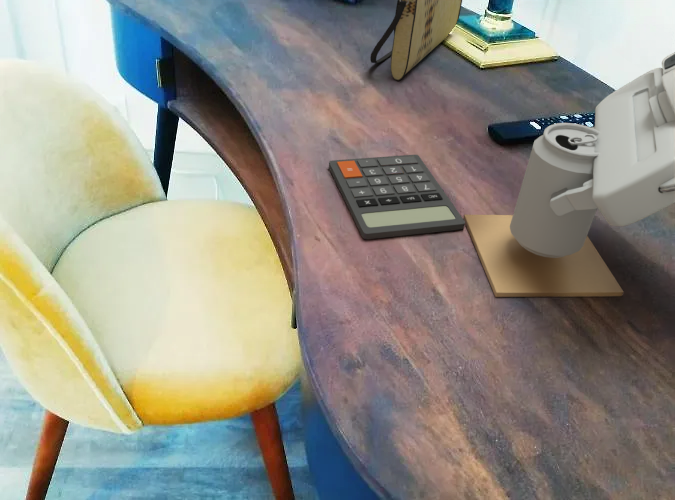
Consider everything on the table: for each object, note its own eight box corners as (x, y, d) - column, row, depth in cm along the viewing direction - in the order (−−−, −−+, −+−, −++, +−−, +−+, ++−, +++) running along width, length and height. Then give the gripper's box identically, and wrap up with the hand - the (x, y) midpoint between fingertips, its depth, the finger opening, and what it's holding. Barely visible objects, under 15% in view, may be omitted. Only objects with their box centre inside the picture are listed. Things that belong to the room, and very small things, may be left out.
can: (498, 219, 69) (526, 117, 62) (564, 218, 70) (599, 118, 63) (521, 263, 63) (555, 156, 56) (593, 262, 64) (635, 157, 57)
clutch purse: (423, 25, 123) (437, -61, 113) (458, 33, 120) (475, -53, 111) (358, 77, 101) (368, -23, 92) (399, 88, 99) (413, -13, 90)
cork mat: (573, 219, 74) (574, 215, 74) (621, 296, 64) (624, 292, 64) (462, 218, 73) (464, 214, 72) (495, 297, 62) (496, 292, 62)
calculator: (418, 152, 81) (466, 222, 70) (416, 159, 82) (465, 228, 71) (328, 159, 78) (364, 232, 67) (328, 165, 79) (363, 239, 68)
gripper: (741, 201, 48) (567, 269, 56) (708, 95, 63) (576, 160, 71) (702, 134, 46) (528, 214, 54) (678, 42, 61) (546, 115, 70)
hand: (555, 183), depth 63 cm, fingers closed on can, 7 cm apart
